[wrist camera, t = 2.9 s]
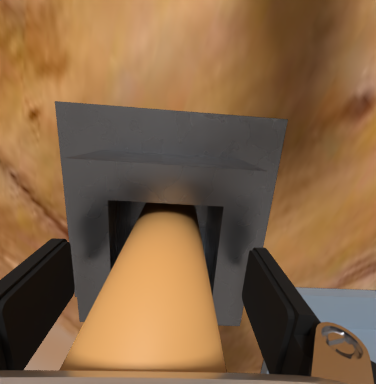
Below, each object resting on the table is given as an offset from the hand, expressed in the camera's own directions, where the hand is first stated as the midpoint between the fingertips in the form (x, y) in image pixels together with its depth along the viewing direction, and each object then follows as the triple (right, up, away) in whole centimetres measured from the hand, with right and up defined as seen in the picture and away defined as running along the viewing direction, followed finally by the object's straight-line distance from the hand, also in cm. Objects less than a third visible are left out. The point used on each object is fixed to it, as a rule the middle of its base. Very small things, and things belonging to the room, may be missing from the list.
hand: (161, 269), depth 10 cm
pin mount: (0, +2, +7) cm, 7 cm away
